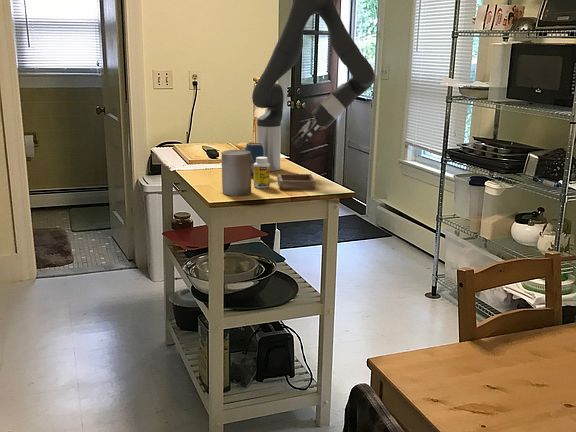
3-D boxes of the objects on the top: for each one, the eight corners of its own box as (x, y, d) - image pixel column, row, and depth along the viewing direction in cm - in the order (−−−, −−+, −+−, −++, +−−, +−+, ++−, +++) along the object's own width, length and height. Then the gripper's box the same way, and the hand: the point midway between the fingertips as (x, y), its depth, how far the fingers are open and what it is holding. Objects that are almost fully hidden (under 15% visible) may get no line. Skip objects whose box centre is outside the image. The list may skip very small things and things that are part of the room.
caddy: (277, 182, 225) (277, 174, 225) (310, 182, 226) (311, 174, 225) (279, 189, 214) (280, 181, 213) (315, 189, 215) (315, 181, 214)
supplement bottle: (258, 189, 214) (258, 159, 212) (250, 186, 219) (250, 157, 216) (272, 187, 217) (273, 158, 215) (264, 184, 222) (264, 155, 219)
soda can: (261, 173, 240) (261, 142, 237) (265, 177, 234) (265, 145, 231) (243, 174, 239) (243, 142, 236) (246, 178, 232) (246, 145, 229)
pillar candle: (251, 189, 213) (251, 145, 210) (251, 196, 204) (250, 150, 200) (223, 189, 213) (221, 145, 209) (221, 196, 204) (219, 150, 200)
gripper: (318, 101, 219) (284, 133, 221) (323, 104, 205) (288, 139, 207) (332, 116, 221) (299, 149, 223) (339, 121, 207) (303, 155, 209)
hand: (294, 144), depth 215 cm, fingers open, 8 cm apart
